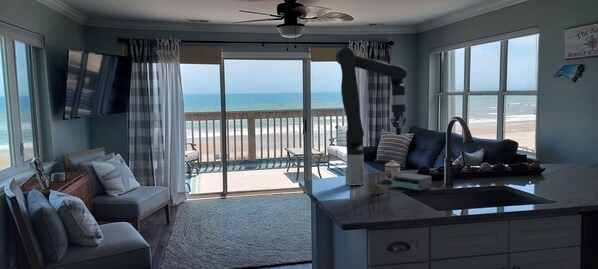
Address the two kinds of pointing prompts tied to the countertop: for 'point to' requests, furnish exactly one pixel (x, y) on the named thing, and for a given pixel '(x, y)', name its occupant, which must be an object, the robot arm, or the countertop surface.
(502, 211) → the countertop surface
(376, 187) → the pedestal
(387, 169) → the teacup with lid
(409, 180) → the disc
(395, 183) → the tray
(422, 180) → the player housing
